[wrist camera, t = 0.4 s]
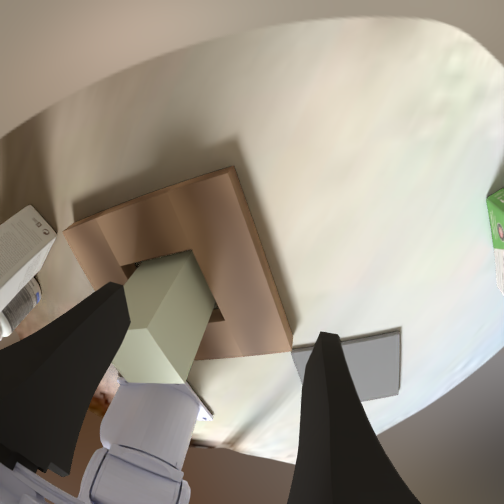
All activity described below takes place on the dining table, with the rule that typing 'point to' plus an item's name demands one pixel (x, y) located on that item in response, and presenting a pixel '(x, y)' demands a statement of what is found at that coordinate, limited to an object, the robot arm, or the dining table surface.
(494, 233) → the ink box
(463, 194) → the dining table surface
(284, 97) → the dining table surface
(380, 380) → the rubber pad
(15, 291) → the skincare box
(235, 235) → the pocket block
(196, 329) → the sage block
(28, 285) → the pill bottle
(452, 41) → the dining table surface
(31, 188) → the dining table surface
